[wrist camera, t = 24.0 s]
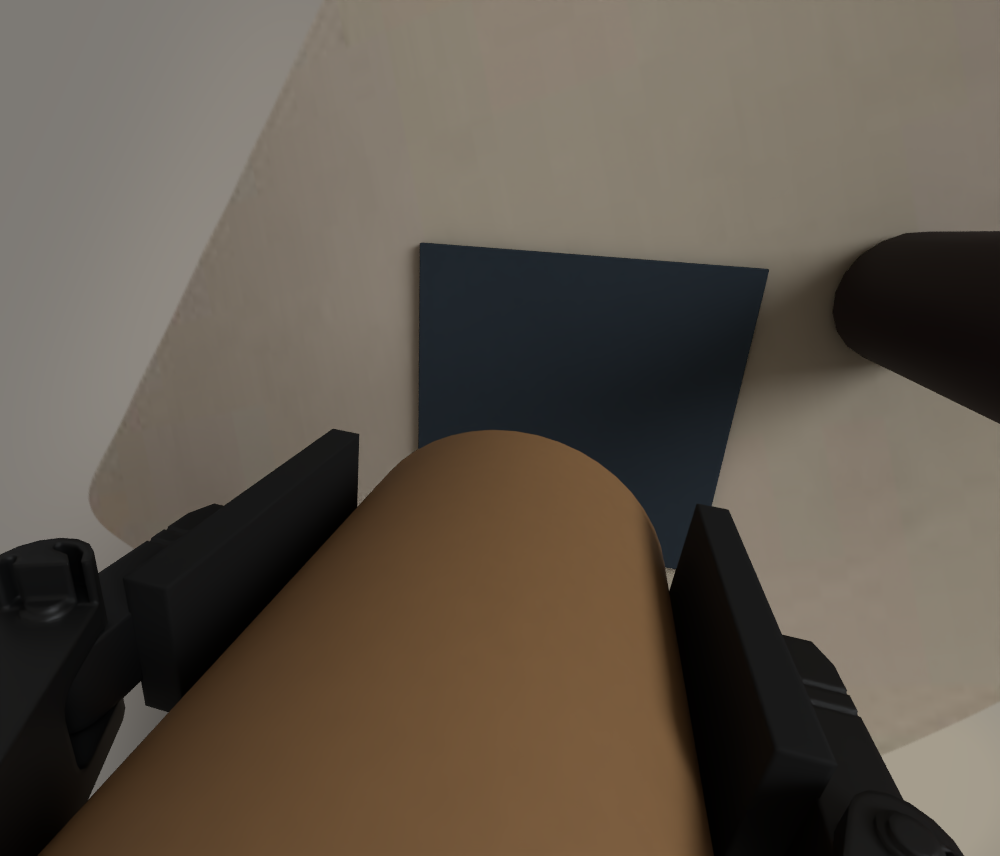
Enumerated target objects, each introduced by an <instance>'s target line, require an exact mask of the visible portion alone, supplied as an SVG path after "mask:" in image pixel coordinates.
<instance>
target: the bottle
mask: <svg viewBox="0 0 1000 856" xmlns="http://www.w3.org/2000/svg"><path fill="white" fill-rule="evenodd" d="M833 316H834V320H835V325H836V330H837V332H838V333H839V335H840V336H841V338H842V339H843V341H844V342H845V344H846V345H847V346H848V347H849V348H851V349H852V350H854V351H855V352H856V353H858V354H859V355H861V356H862V357H864V358H866V359H868V360H870V361H872V362H874V363H876V364H879V365H881V366H883V367H885V368H887V369H889V370H891V371H893V372H895V373H897V374H899V375H901V376H903V377H905V378H907V379H909V380H911V381H913V382H915V383H917V384H919V385H922V386H924V387H926V388H928V389H930V390H932V391H934V392H936V393H938V394H940V395H942V396H944V397H946V398H948V399H950V400H952V401H954V402H956V403H958V404H960V405H962V406H965V407H967V408H969V409H971V410H973V411H975V412H977V413H979V414H981V415H983V416H985V417H987V418H989V419H991V420H993V421H995V422H997V423H999V424H1000V231H969V232H918V233H905V234H902V235H899V236H897V237H894V238H891V239H888V240H885V241H882V242H881V243H879V244H878V245H876V246H875V247H873V248H872V249H870V250H869V251H867V252H866V253H864V254H863V255H861V256H860V257H859V258H858V259H857V260H856V261H855V263H854V264H853V265H852V266H851V267H850V268H849V269H848V270H847V272H846V273H845V274H844V276H843V278H842V280H841V282H840V284H839V286H838V288H837V290H836V293H835V300H834V306H833Z"/></svg>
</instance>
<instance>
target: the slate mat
mask: <svg viewBox="0 0 1000 856" xmlns="http://www.w3.org/2000/svg"><path fill="white" fill-rule="evenodd" d="M768 272H769V270H768V269H761V268H748V267H734V266H721V265H708V264H695V263H682V262H669V261H656V260H643V259H630V258H617V257H604V256H591V255H577V254H564V253H551V252H538V251H525V250H512V249H499V248H486V247H473V246H460V245H447V244H434V243H420V304H419V443H418V449H420V448H422V447H424V446H426V445H428V444H429V443H431V442H434V441H436V440H439V439H442V438H445V437H448V436H451V435H456V434H461V433H466V432H471V431H483V430H505V431H517V432H523V433H528V434H533V435H538V436H541V437H545V438H548V439H551V440H554V441H557V442H560V443H562V444H565V445H567V446H569V447H571V448H573V449H576V450H578V451H580V452H582V453H583V454H585V455H586V456H588V457H590V458H591V459H593V460H595V461H596V462H598V463H599V464H601V465H602V466H603V467H605V468H606V469H607V470H608V471H610V472H611V473H612V474H613V475H615V476H616V477H617V478H618V479H619V480H620V481H621V482H622V483H623V484H624V485H625V486H626V487H627V488H628V489H629V490H630V491H631V492H632V494H633V495H634V496H635V498H636V499H637V501H638V502H639V503H640V505H641V506H642V507H643V509H644V510H645V512H646V514H647V516H648V517H649V519H650V521H651V523H652V525H653V527H654V529H655V532H656V535H657V537H658V540H659V543H660V545H661V550H662V555H663V560H664V565H665V567H666V568H672V569H676V568H677V565H678V562H679V558H680V555H681V552H682V549H683V546H684V542H685V539H686V536H687V533H688V530H689V526H690V523H691V520H692V517H693V514H694V510H695V507H696V504H697V503H698V504H702V505H707V506H712V502H713V498H714V494H715V490H716V486H717V481H718V477H719V473H720V469H721V465H722V461H723V457H724V453H725V449H726V445H727V440H728V436H729V432H730V428H731V424H732V420H733V416H734V412H735V408H736V404H737V399H738V395H739V391H740V387H741V383H742V379H743V375H744V371H745V367H746V363H747V359H748V354H749V350H750V346H751V342H752V338H753V334H754V330H755V326H756V322H757V318H758V313H759V309H760V305H761V301H762V297H763V293H764V289H765V285H766V281H767V277H768Z"/></svg>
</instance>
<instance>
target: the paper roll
mask: <svg viewBox="0 0 1000 856" xmlns="http://www.w3.org/2000/svg"><path fill="white" fill-rule="evenodd" d="M37 856H714V852H713V846H712V841H711V835H710V829H709V823H708V817H707V811H706V805H705V800H704V794H703V788H702V782H701V776H700V770H699V764H698V759H697V753H696V747H695V741H694V735H693V729H692V723H691V718H690V712H689V706H688V700H687V694H686V688H685V682H684V677H683V671H682V665H681V659H680V653H679V647H678V641H677V636H676V630H675V624H674V618H673V612H672V606H671V600H670V595H669V589H668V583H667V577H666V571H665V565H664V560H663V555H662V550H661V545H660V543H659V540H658V537H657V535H656V532H655V529H654V527H653V525H652V523H651V521H650V519H649V517H648V516H647V514H646V512H645V510H644V509H643V507H642V506H641V505H640V503H639V502H638V501H637V499H636V498H635V496H634V495H633V494H632V492H631V491H630V490H629V489H628V488H627V487H626V486H625V485H624V484H623V483H622V482H621V481H620V480H619V479H618V478H617V477H616V476H615V475H613V474H612V473H611V472H610V471H608V470H607V469H606V468H605V467H603V466H602V465H601V464H599V463H598V462H596V461H595V460H593V459H591V458H590V457H588V456H586V455H585V454H583V453H582V452H580V451H578V450H576V449H573V448H571V447H569V446H567V445H565V444H562V443H560V442H557V441H554V440H551V439H548V438H545V437H541V436H538V435H533V434H528V433H523V432H517V431H505V430H483V431H471V432H466V433H461V434H456V435H451V436H448V437H445V438H442V439H439V440H436V441H434V442H431V443H429V444H428V445H426V446H424V447H422V448H420V449H418V450H416V451H414V452H413V453H412V454H410V455H409V456H407V457H406V458H405V459H403V460H402V461H401V462H400V463H399V464H397V465H396V466H395V467H394V468H393V469H392V470H391V471H390V472H389V473H388V474H387V475H386V476H385V478H384V479H383V480H382V481H381V482H380V483H379V484H378V485H377V486H376V487H375V488H374V490H373V491H372V492H371V493H370V494H369V495H368V496H367V497H366V498H365V499H364V500H363V502H362V503H361V504H360V505H359V506H358V507H357V508H356V509H355V510H354V511H353V512H352V513H351V515H350V516H349V517H348V518H347V519H346V520H345V521H344V522H343V523H342V524H341V525H340V527H339V528H338V529H337V530H336V531H335V532H334V533H333V534H332V535H331V536H330V537H329V539H328V540H327V541H326V542H325V543H324V544H323V545H322V546H321V547H320V548H319V549H318V551H317V552H316V553H315V554H314V555H313V556H312V557H311V558H310V559H309V560H308V561H307V562H306V564H305V565H304V566H303V567H302V568H301V569H300V570H299V571H298V572H297V573H296V574H295V576H294V577H293V578H292V579H291V580H290V581H289V582H288V583H287V584H286V585H285V586H284V588H283V589H282V590H281V591H280V592H279V593H278V594H277V595H276V596H275V597H274V598H273V599H272V601H271V602H270V603H269V604H268V605H267V606H266V607H265V608H264V609H263V610H262V611H261V613H260V614H259V615H258V616H257V617H256V618H255V619H254V620H253V621H252V622H251V623H250V625H249V626H248V627H247V628H246V629H245V630H244V631H243V632H242V633H241V634H240V635H239V636H238V638H237V639H236V640H235V641H234V642H233V643H232V644H231V645H230V646H229V647H228V648H227V650H226V651H225V652H224V653H223V654H222V655H221V656H220V657H219V658H218V659H217V660H216V662H215V663H214V664H213V665H212V666H211V667H210V668H209V669H208V670H207V671H206V672H205V673H204V675H203V676H202V677H201V678H200V679H199V680H198V681H197V682H196V683H195V684H194V685H193V687H192V688H191V689H190V690H189V691H188V692H187V693H186V694H185V695H184V696H183V697H182V699H181V700H180V701H179V702H178V703H177V704H176V705H175V706H174V707H173V708H172V709H171V710H170V712H169V713H168V714H167V715H166V716H165V717H164V718H163V719H162V720H161V721H160V723H159V724H158V725H157V726H156V727H155V728H154V729H153V730H152V731H151V732H150V733H149V734H148V736H147V737H146V738H145V739H144V740H143V741H142V742H141V743H140V744H139V745H138V746H137V748H136V749H135V750H134V751H133V752H132V753H131V754H130V755H129V756H128V757H127V758H126V760H125V761H124V762H123V763H122V764H121V765H120V766H119V767H118V768H117V769H116V770H115V771H114V773H113V774H112V775H111V776H110V777H109V778H108V779H107V780H106V781H105V782H104V783H103V785H102V786H101V787H100V788H99V789H98V790H97V791H96V792H95V793H94V794H93V795H92V796H91V798H90V799H89V800H88V801H87V802H86V803H85V804H84V805H83V806H82V807H81V808H80V810H79V811H78V812H77V813H76V814H75V815H74V816H73V817H72V818H71V819H70V820H69V822H68V823H67V824H66V825H65V826H64V827H63V828H62V829H61V830H60V831H59V832H58V833H57V835H56V836H55V837H54V838H53V839H52V840H51V841H50V842H49V843H48V844H47V845H46V847H45V848H44V849H43V850H42V851H41V852H40V853H39V854H38V855H37Z"/></svg>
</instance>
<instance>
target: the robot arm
mask: <svg viewBox="0 0 1000 856" xmlns="http://www.w3.org/2000/svg"><path fill="white" fill-rule="evenodd" d="M358 457H359V434H356V433H351V432H346V431H342V430H337V429H332V430H330V431H329V432H328V433H326V434H325V435H323V436H322V437H320V438H319V439H318V440H316V441H315V442H313V443H312V444H311V445H309V446H308V447H306V448H305V449H304V450H302V451H301V452H299V453H298V454H297V455H295V456H294V457H292V458H291V459H289V460H288V461H287V462H285V463H284V464H282V465H281V466H280V467H278V468H277V469H275V470H274V471H273V472H271V473H270V474H268V475H267V476H265V477H264V478H263V479H261V480H260V481H258V482H257V483H256V484H254V485H253V486H251V487H250V488H249V489H247V490H246V491H244V492H243V493H241V494H240V495H239V496H237V497H236V498H234V499H233V500H232V501H230V502H229V503H227V504H226V505H225V506H222V505H218V504H212V505H209V506H206V507H204V508H201V509H198V510H196V511H193V512H190V513H188V514H186V515H185V516H183V517H182V518H180V519H179V520H177V521H176V522H174V523H173V524H171V525H170V526H168V529H167V530H165V529H164V530H162V531H161V532H159V533H158V534H156V535H155V536H153V537H152V538H151V541H146V542H144V543H143V544H141V545H140V546H138V547H137V548H135V549H134V550H132V551H131V552H129V553H128V554H126V555H125V556H123V557H122V558H120V559H119V560H117V561H116V562H114V563H113V564H111V565H110V566H108V567H107V568H105V569H104V570H102V571H101V572H99V573H98V570H97V565H96V560H95V555H94V551H93V549H92V548H91V546H90V544H89V543H86V542H84V541H81V540H79V539H68V538H56V539H48V540H40V541H36V542H33V543H29V544H25V545H22V546H18V547H16V548H14V549H12V550H10V551H7V552H5V553H3V554H1V555H0V856H37V855H38V854H39V853H40V852H41V851H42V850H43V849H44V848H45V847H46V845H47V844H48V843H49V842H50V841H51V840H52V839H53V838H54V837H55V836H56V835H57V833H58V832H59V831H60V830H61V829H62V828H63V827H64V826H65V825H66V824H67V823H68V822H69V820H70V819H71V818H72V817H73V816H74V815H75V814H76V813H77V812H78V811H79V810H80V808H81V807H82V806H83V805H84V804H85V803H86V802H87V801H88V799H89V796H90V794H91V792H92V789H93V787H94V785H95V782H96V780H97V778H98V776H99V774H100V771H101V769H102V767H103V764H104V762H105V760H106V758H107V755H108V753H109V751H110V748H111V746H112V744H113V741H114V739H115V737H116V734H117V732H118V730H119V728H120V726H121V723H122V721H123V717H124V712H125V704H124V699H123V698H124V696H126V695H127V694H128V693H129V692H130V691H131V690H132V689H133V688H134V687H135V686H136V685H137V684H138V683H139V682H140V681H141V682H142V688H143V694H144V699H145V705H146V706H150V707H153V708H156V709H159V710H163V711H166V712H170V710H171V709H172V708H173V707H174V706H175V705H176V704H177V703H178V702H179V701H180V700H181V699H182V697H183V696H184V695H185V694H186V693H187V692H188V691H189V690H190V689H191V688H192V687H193V685H194V684H195V683H196V682H197V681H198V680H199V679H200V678H201V677H202V676H203V675H204V673H205V672H206V671H207V670H208V669H209V668H210V667H211V666H212V665H213V664H214V663H215V662H216V660H217V659H218V658H219V657H220V656H221V655H222V654H223V653H224V652H225V651H226V650H227V648H228V647H229V646H230V645H231V644H232V643H233V642H234V641H235V640H236V639H237V638H238V636H239V635H240V634H241V633H242V632H243V631H244V630H245V629H246V628H247V627H248V626H249V625H250V623H251V622H252V621H253V620H254V619H255V618H256V617H257V616H258V615H259V614H260V613H261V611H262V610H263V609H264V608H265V607H266V606H267V605H268V604H269V603H270V602H271V601H272V599H273V598H274V597H275V596H276V595H277V594H278V593H279V592H280V591H281V590H282V589H283V588H284V586H285V585H286V584H287V583H288V582H289V581H290V580H291V579H292V578H293V577H294V576H295V574H296V573H297V572H298V571H299V570H300V569H301V568H302V567H303V566H304V565H305V564H306V562H307V561H308V560H309V559H310V558H311V557H312V556H313V555H314V554H315V553H316V552H317V551H318V549H319V548H320V547H321V546H322V545H323V544H324V543H325V542H326V541H327V540H328V539H329V537H330V536H331V535H332V534H333V533H334V532H335V531H336V530H337V529H338V528H339V527H340V525H341V524H342V523H343V522H344V521H345V520H346V519H347V518H348V517H349V516H350V515H351V513H352V512H353V511H354V510H355V509H356V508H357V493H358ZM669 595H670V600H671V606H672V612H673V618H674V624H675V630H676V636H677V641H678V647H679V653H680V659H681V665H682V671H683V677H684V682H685V688H686V694H687V700H688V706H689V712H690V718H691V723H692V729H693V735H694V741H695V747H696V753H697V759H698V764H699V770H700V776H701V782H702V788H703V794H704V800H705V805H706V811H707V817H708V823H709V829H710V835H711V841H712V846H713V852H714V856H964V855H963V853H962V852H961V851H960V849H959V848H958V846H957V845H956V843H955V842H954V841H953V839H951V837H950V836H949V835H948V834H947V833H946V832H945V831H944V830H943V829H941V827H940V826H939V825H938V824H937V823H936V822H935V821H934V820H932V819H931V818H929V817H928V816H927V815H926V814H924V813H923V812H921V811H920V810H918V809H917V808H916V807H914V806H913V805H911V804H910V803H908V802H906V801H904V800H903V798H902V796H901V794H900V792H899V790H898V788H897V786H896V785H895V783H894V781H893V779H892V777H891V775H890V773H889V771H888V769H887V767H886V765H885V763H884V761H883V760H882V757H881V755H880V753H879V752H878V750H877V748H876V746H875V744H874V742H873V740H872V738H871V736H870V734H869V732H868V730H867V728H866V726H865V724H864V723H863V721H862V719H861V717H859V716H858V715H857V712H858V711H857V709H856V707H855V705H854V703H853V701H852V699H851V697H850V695H847V693H846V692H847V690H846V688H845V686H844V684H843V682H842V680H841V678H840V676H839V674H838V672H837V670H836V668H835V666H834V665H833V664H832V663H831V662H830V661H829V660H828V659H827V657H826V656H825V655H824V654H823V653H822V652H821V651H820V650H819V649H818V648H817V647H816V646H815V645H814V644H813V643H812V642H811V641H807V640H803V639H798V638H794V637H790V636H786V635H782V634H781V631H780V629H779V627H778V624H777V622H776V620H775V617H774V615H773V613H772V610H771V608H770V606H769V603H768V601H767V598H766V596H765V594H764V591H763V589H762V587H761V584H760V582H759V580H758V577H757V575H756V573H755V570H754V568H753V566H752V563H751V561H750V559H749V556H748V554H747V552H746V549H745V547H744V545H743V542H742V540H741V538H740V535H739V533H738V531H737V528H736V526H735V524H734V521H733V519H732V517H731V514H730V512H729V510H727V509H722V508H717V507H712V506H707V505H702V504H698V503H697V504H696V507H695V510H694V514H693V517H692V520H691V523H690V526H689V530H688V533H687V536H686V539H685V542H684V546H683V549H682V552H681V555H680V558H679V562H678V565H677V568H676V571H675V574H674V578H673V581H672V584H671V587H670V590H669Z"/></svg>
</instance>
